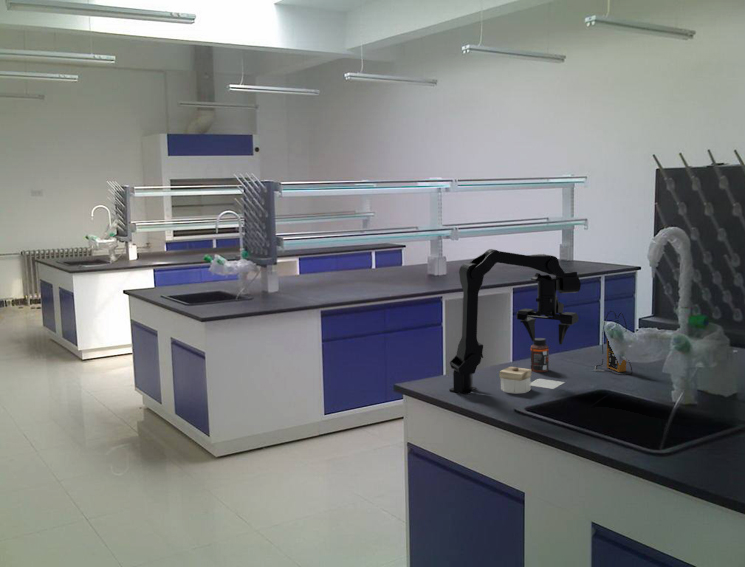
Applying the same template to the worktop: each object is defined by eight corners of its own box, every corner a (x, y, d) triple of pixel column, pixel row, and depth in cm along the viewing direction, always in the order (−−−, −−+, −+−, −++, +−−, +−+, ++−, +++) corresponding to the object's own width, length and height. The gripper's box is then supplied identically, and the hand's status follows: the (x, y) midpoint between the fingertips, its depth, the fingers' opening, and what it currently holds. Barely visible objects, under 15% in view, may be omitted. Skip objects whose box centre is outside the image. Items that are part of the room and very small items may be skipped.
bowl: (521, 396, 219) (521, 381, 218) (496, 392, 224) (496, 377, 224) (534, 389, 226) (534, 375, 225) (509, 385, 231) (509, 372, 230)
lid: (520, 380, 219) (520, 372, 219) (499, 377, 224) (499, 369, 223) (531, 375, 225) (531, 367, 225) (510, 372, 229) (510, 364, 229)
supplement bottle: (550, 373, 245) (550, 340, 243) (532, 373, 245) (532, 340, 243) (546, 369, 251) (546, 336, 249) (529, 369, 251) (529, 337, 249)
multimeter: (581, 367, 251) (582, 310, 249) (606, 364, 254) (607, 308, 251) (607, 377, 237) (608, 317, 235) (633, 374, 240) (634, 315, 238)
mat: (553, 390, 224) (553, 388, 224) (526, 386, 230) (526, 384, 230) (564, 383, 231) (564, 382, 231) (538, 380, 237) (538, 378, 237)
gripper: (585, 292, 230) (584, 341, 232) (530, 289, 242) (530, 335, 244) (571, 297, 222) (571, 347, 224) (515, 293, 233) (515, 341, 235)
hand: (546, 342), depth 232 cm, fingers open, 9 cm apart
